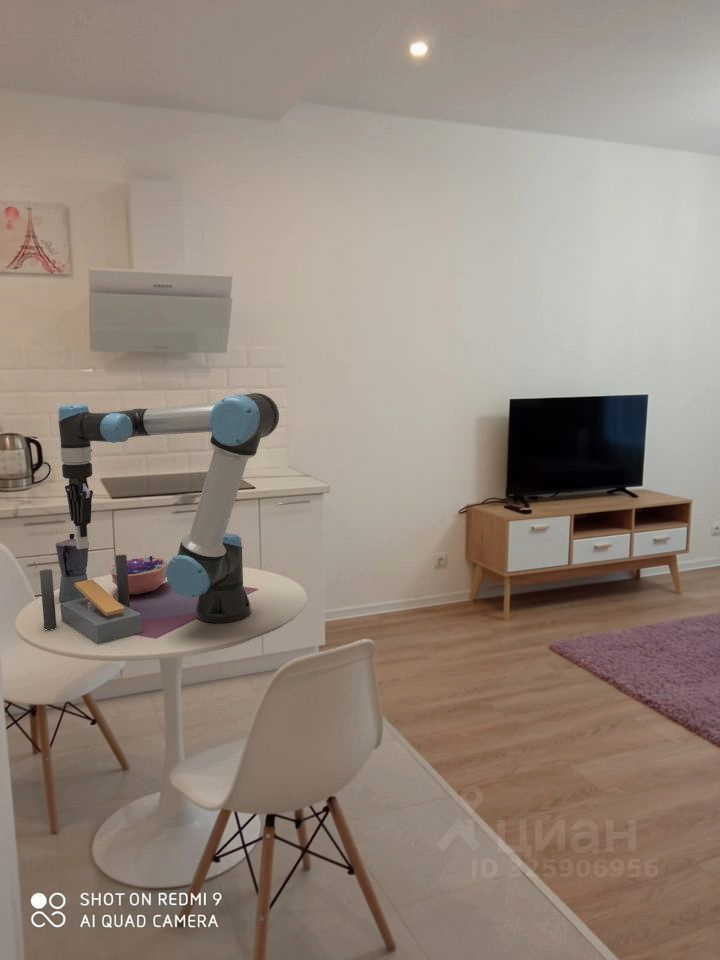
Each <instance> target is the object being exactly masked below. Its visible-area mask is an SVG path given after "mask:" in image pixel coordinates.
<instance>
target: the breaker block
mask: <svg viewBox="0 0 720 960" xmlns="http://www.w3.org/2000/svg"><path fill="white" fill-rule="evenodd" d="M120 604H121V603H120ZM59 605H60V615H61V617H60V618H61V622H63V623H64V624H66V625H68V626H69V627H71V628H72V629H74V630H75V631H77V632H78V633H80V634H81V635H83V636H85V637H86V638H88V639H89V640H91V641H92V642H94V643H95V644H97V645H100V644H105V643H109V642H113V641H116V640H119V639H124V638H128V637H130V636H134V635H139V634H141V633H143V622H142V621H143V620H142V613H140V612H138V611H136V610H134V609H133V608H131V607H130V608H129V607H127V606H125V605H123V604H121V605H122V606H123V607H124V608H125V611H124V612H120V613H116V614H112V615H108V616H106V615H105V614H104V613H103V612H101V611H100V610H99V609H98V608H97V607H96V606H95V605H94V604H93V603H92V602H91V601H90V600H89V599H88V598H87V597H85V598H81V599H76V600H72V601H68V602H60V603H59Z"/></svg>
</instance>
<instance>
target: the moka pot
mask: <svg viewBox="0 0 720 960" xmlns="http://www.w3.org/2000/svg"><path fill="white" fill-rule="evenodd" d="M75 536H76V533H70V534H69V539H66V540H62V541H58V542H56V543H55V549H56V553H57V554H56V555H57V561H58V564H59V565H58V566H59V569H60V575H61V576H60V583H59V584H60V585H59V593H58V600H59V602H60V603H63V602H68V601H72V600H76V599H81V598H85V596H84V595H83V594H82V593H81V592H80V591H79V590H78V589H77V588H76V587H75V583H77V582H81V581H86V580H89V579H88V574H87V567H88V559H89V548H90V547H89V544H90V543H89V542H88V548H83V549H77V548H76V538H75Z"/></svg>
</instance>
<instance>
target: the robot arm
mask: <svg viewBox="0 0 720 960" xmlns="http://www.w3.org/2000/svg"><path fill="white" fill-rule="evenodd" d="M279 412H280V411H279V407H278V405H277V403H276V402H275V401H274V400H273V398H271V397H269V396H268V395H266V394H263V393H259V392H253V393H252V392H251V393H246V394H233V395H229V396H227V397H224V398H222V399H221V400H219V401H218V402H216V403H215V402H214V403H204V404H189V405H179V406H178V405H175V406H165V407H162V406H160V407H152V408H133V409H128V410H121V411H120V410H119V411H112V412H90V411H89V406H88V405H86V404H81V403H80V404H79V403H78V404H74V403H73V404H62V405H61V406H59V408H58V427H59V428H58V429H59V437H60V446H59V447H60V458H61V462H62V463H63V464H62V465H61V472H62V477H63V478H64V479H68V485H65V486H64V489H65V493H66V497H67V498H66V499H67V503H68V510H69V511H68V512H69V517H70V521H72V522H73V524H74V529H75V531H74V532H75V533H74V534H75V539H76V548H77V549H83V548H88V543H89V537H88V536H89V534H88V525H89V524H91V523H92V501H93V500H92V498H93V495H94V491H93V490H92V489H89V483H88V478H90V477H92V476H93V464H92V462H91V460H92V453H93V449H92V448H91V442H102V443H103V442H104V443H113V444H115V443H124V442H127V441H128V440H129V439H130V438H135V437H149V436H150V437H151V436H163V435H164V436H165V435H184V434H197V433H199V434H200V433H211V436H210V441H209V443H210V444H211V447H212V448H213V452H212V457H211V459H210V464H209V467H208V469H207V473H206V477H205V480H204V484H203V488H202V490H201V494H200V498H199V501H198V505H197V507H196V511H195V515H194V517H193V518H194V519H193V520H192V525H191V528H190V531H189V534H188V535H184V536H183V537H182V539H181V541H180V545H179V547H178V551H177V555H175V556H173V557H171V560H169V561H168V562H167V567H166V580H167V583H169V585H170V588H171V589H172V591H174V592H175V593H176V594H178V595H180V596H181V597H183V598H188V599H189V598H191V599H192V598H197V597H198V600H197V602H196V606H195V617H196V619H198V620H199V621H201V622H203V623H204V622H205V623H210V624H211V623H212V624H223V623H225V624H226V623H232V622H236V621H240V620H241V621H242V620H243V619H245V618H248V617H249V616H250V614H251V612H252V611H251V603H250V600H249V597H248V595H247V593H246V590H245V589H246V588H245V586H244V570H243V569H244V568H243V564H244V563H243V545H242V537H241V536H240V535H238V534H235V533H229V532H227V529H228V526H229V522H230V520H231V519H230V518H231V516H232V513H233V508H234V507H235V506H234V505H235V502H236V499H237V496H238V492H239V489H240V486H241V482H242V479H243V476H244V472H245V470H246V466H247V462H248V460H249V459H251V458H253V457H255V456H256V454H257V451H258V449H259V444H260V441H261V439H262V438H265V437H267V436H269V435H270V434H272V433H273V432H274V431H275V430H276V428H277V427H278V424H279V420H280V413H279ZM88 549H89V548H88Z"/></svg>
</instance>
